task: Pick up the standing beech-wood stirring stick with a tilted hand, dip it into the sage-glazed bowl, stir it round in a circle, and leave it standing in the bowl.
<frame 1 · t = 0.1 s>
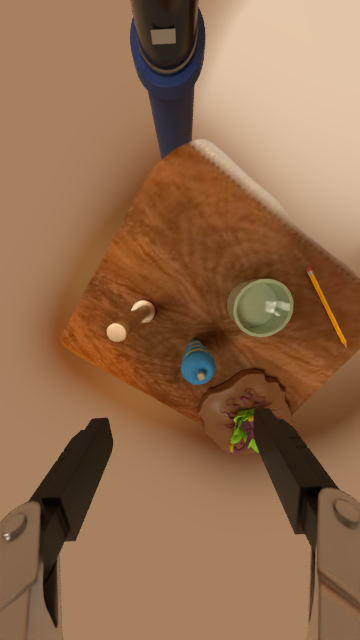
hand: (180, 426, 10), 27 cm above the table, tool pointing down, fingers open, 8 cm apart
bowl: (252, 304, 35), on the table
stick: (144, 310, 36), on the table
pencil: (329, 308, 35), on the table
ornament: (194, 340, 37), on the table
plant: (244, 410, 41), on the table
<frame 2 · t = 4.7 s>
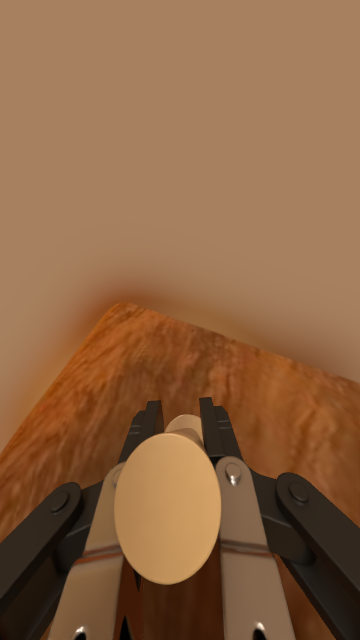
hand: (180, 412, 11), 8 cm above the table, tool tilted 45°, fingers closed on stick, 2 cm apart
stick: (188, 442, 17), on the table, touching gripper
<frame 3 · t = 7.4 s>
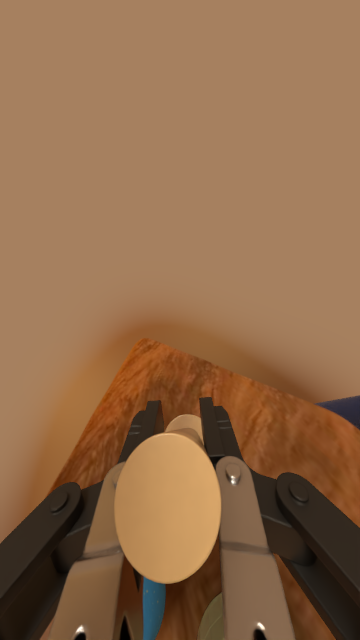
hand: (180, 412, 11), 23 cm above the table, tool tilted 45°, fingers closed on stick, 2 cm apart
stick: (188, 441, 17), point 14 cm above the table, touching gripper
ornament: (158, 524, 24), on the table
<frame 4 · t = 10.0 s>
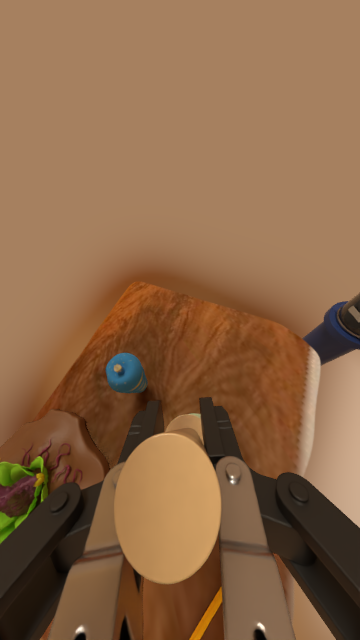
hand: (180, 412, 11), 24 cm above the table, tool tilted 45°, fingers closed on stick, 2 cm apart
stick: (188, 441, 17), point 15 cm above the table, touching gripper
pencil: (218, 607, 21), on the table
ornament: (144, 387, 35), on the table
plant: (42, 487, 28), on the table
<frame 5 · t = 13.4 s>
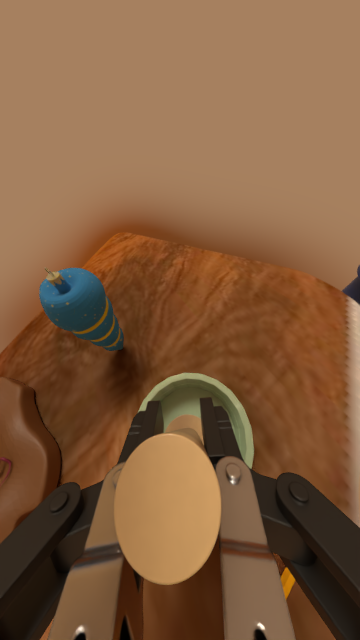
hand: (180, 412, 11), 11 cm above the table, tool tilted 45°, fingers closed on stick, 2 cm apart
bowl: (191, 431, 19), on the table
stick: (188, 442, 17), point 2 cm above the table, touching gripper
ornament: (122, 348, 25), on the table
when the fingers open (9 cm above the table, at t = 15.6 s): stick stays where it is, resting on bowl.
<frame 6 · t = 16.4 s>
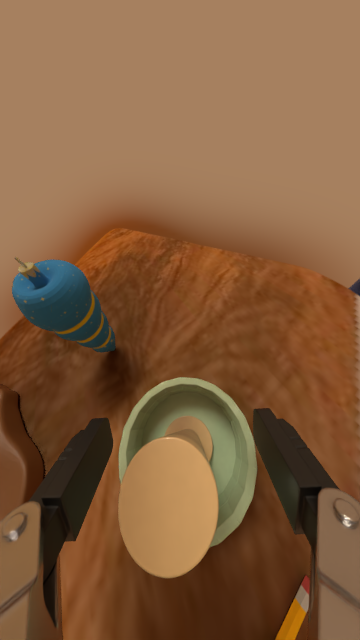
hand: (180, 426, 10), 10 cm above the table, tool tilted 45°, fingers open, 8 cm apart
bowl: (187, 441, 17), on the table
stick: (187, 443, 17), resting on bowl
ornament: (114, 350, 23), on the table
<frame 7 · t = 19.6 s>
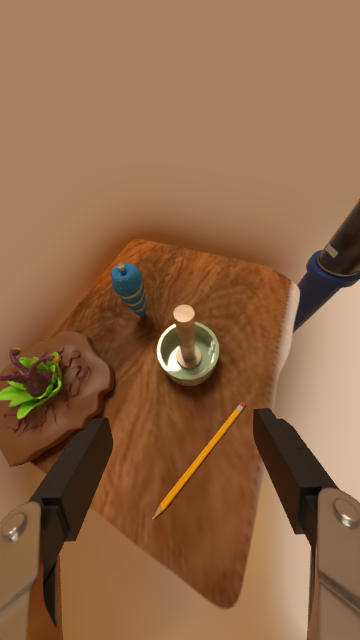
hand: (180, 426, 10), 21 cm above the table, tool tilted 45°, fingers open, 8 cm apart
bowl: (188, 357, 33), on the table
stick: (188, 357, 32), resting on bowl
pencil: (205, 457, 25), on the table
ornament: (144, 316, 39), on the table
plant: (56, 388, 32), on the table
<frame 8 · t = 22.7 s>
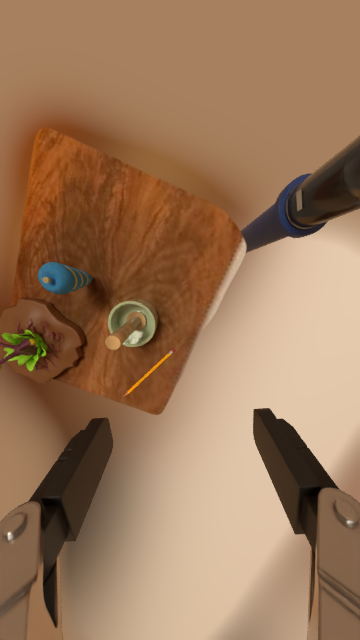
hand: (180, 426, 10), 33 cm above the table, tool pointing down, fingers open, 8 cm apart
bowl: (137, 319, 42), on the table
stick: (137, 320, 42), resting on bowl
pencil: (149, 374, 46), on the table
ornament: (92, 278, 40), on the table
plant: (43, 340, 44), on the table
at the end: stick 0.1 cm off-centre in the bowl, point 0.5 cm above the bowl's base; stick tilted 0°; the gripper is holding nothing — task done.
